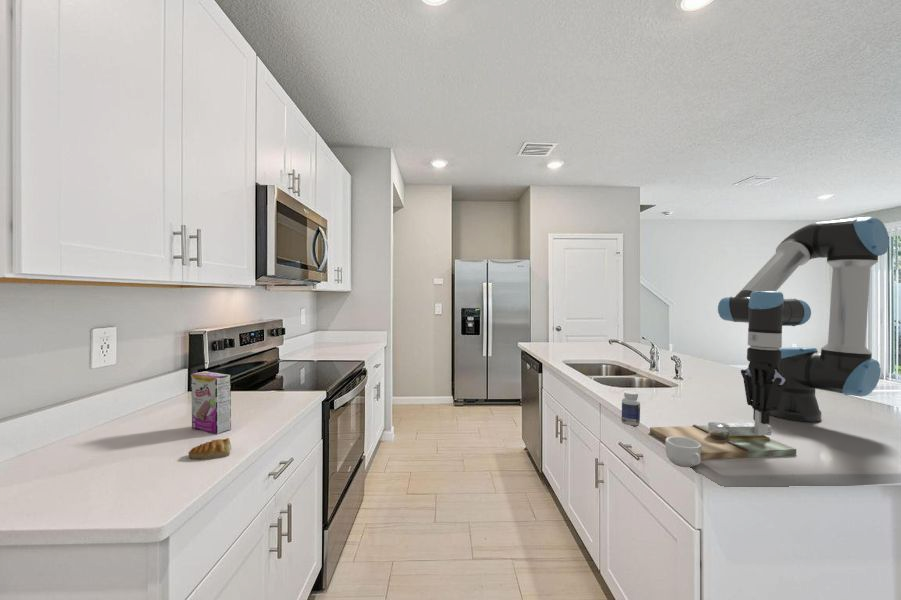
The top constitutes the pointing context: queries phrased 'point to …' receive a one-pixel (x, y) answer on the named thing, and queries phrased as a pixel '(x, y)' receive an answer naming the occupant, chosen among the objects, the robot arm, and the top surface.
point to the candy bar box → (211, 402)
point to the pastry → (211, 449)
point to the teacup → (683, 451)
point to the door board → (726, 443)
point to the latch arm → (733, 429)
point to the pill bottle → (630, 409)
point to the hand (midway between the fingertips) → (760, 434)
